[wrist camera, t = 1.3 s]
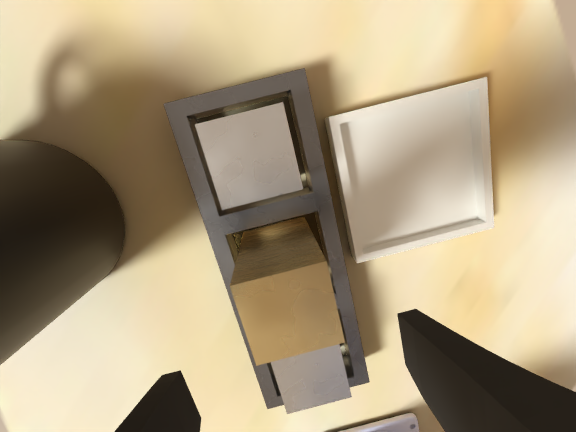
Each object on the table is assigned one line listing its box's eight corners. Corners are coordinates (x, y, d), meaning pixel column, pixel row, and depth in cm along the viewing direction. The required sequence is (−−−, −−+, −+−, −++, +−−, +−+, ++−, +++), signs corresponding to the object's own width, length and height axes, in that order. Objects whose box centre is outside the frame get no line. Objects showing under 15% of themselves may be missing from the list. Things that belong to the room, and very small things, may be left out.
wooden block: (317, 271, 19) (345, 342, 12) (259, 286, 19) (256, 365, 12) (303, 216, 18) (326, 261, 11) (243, 232, 18) (229, 286, 11)
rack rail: (360, 360, 21) (380, 408, 17) (267, 384, 21) (267, 438, 17) (300, 77, 16) (310, 56, 12) (175, 108, 16) (146, 97, 12)
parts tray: (480, 222, 19) (494, 227, 18) (351, 255, 19) (357, 263, 18) (471, 81, 17) (487, 76, 15) (324, 118, 16) (328, 116, 15)
